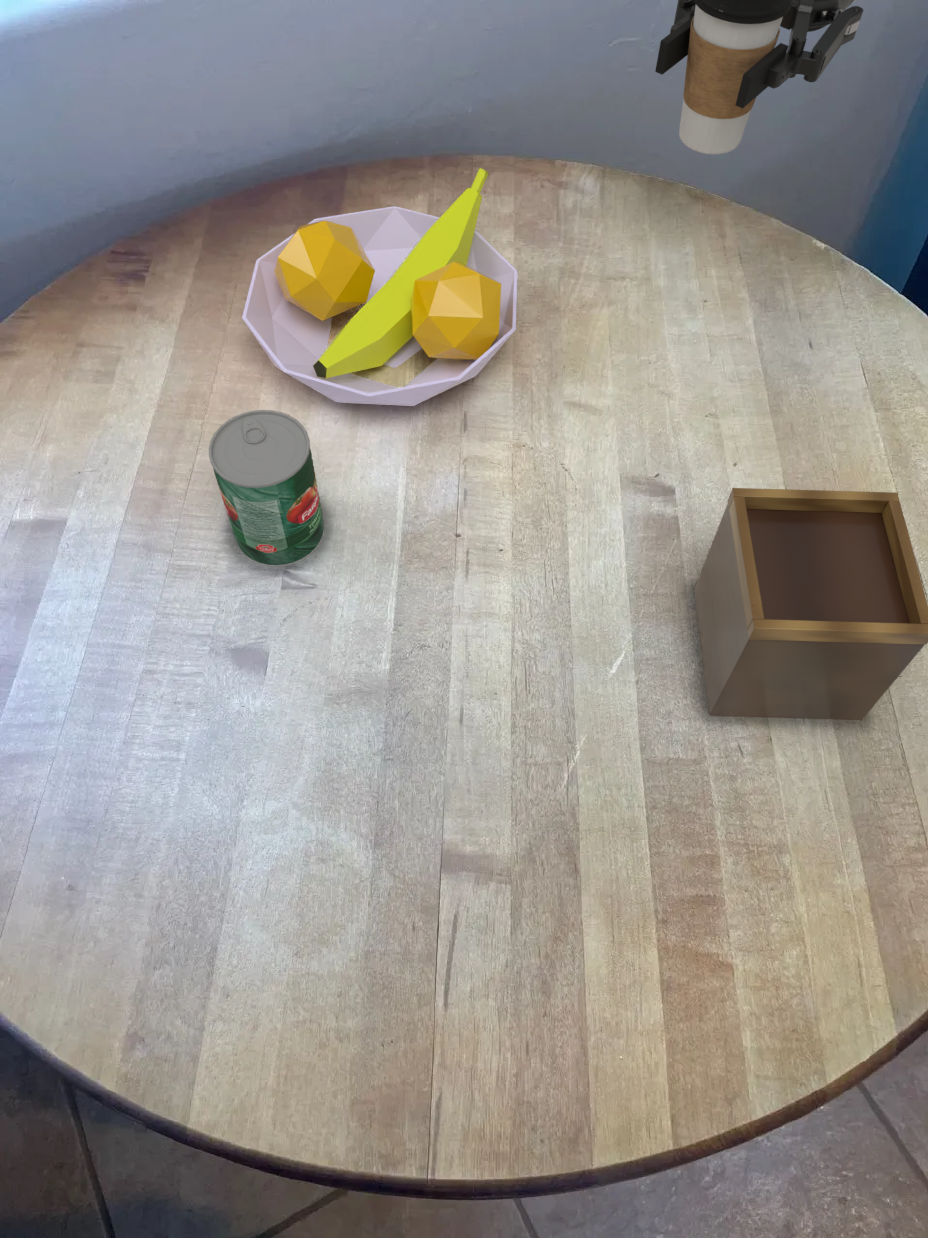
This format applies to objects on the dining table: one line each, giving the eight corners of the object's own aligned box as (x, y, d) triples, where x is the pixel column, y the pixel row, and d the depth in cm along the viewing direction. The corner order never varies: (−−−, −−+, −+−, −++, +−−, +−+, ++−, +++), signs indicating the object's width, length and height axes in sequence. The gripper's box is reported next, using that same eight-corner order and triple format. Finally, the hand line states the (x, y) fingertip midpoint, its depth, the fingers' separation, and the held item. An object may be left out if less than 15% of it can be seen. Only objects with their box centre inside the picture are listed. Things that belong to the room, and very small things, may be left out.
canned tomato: (337, 551, 84) (323, 467, 74) (249, 579, 82) (223, 497, 72) (309, 485, 87) (292, 398, 78) (224, 511, 86) (197, 425, 76)
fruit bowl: (340, 480, 88) (327, 390, 78) (211, 310, 100) (186, 213, 90) (585, 363, 96) (600, 268, 86) (440, 218, 108) (439, 121, 98)
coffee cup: (753, 116, 95) (800, -56, 82) (753, 166, 90) (802, -6, 77) (668, 107, 95) (700, -64, 83) (663, 157, 91) (697, -16, 78)
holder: (834, 593, 82) (897, 492, 70) (862, 722, 75) (936, 633, 64) (692, 589, 82) (732, 487, 70) (708, 717, 76) (754, 628, 64)
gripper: (906, 51, 93) (792, 159, 84) (724, -17, 100) (599, 75, 90) (940, -35, 87) (821, 72, 77) (742, -101, 94) (610, -11, 84)
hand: (701, 74), depth 84 cm, fingers closed on coffee cup, 8 cm apart
